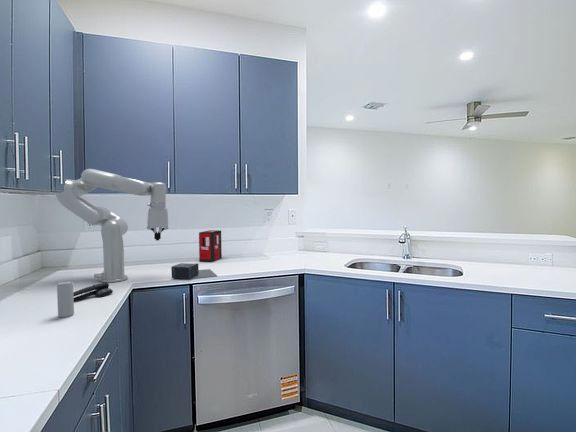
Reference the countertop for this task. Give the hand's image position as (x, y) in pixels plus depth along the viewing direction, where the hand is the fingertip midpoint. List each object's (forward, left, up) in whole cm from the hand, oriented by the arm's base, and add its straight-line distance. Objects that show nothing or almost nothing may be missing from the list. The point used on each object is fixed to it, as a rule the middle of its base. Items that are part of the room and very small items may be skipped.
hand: (157, 240), depth 180 cm
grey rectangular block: (-34, -49, -21) cm, 63 cm away
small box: (+9, -2, -17) cm, 19 cm away
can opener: (-29, -27, -21) cm, 45 cm away
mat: (+20, 0, -20) cm, 29 cm away
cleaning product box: (+37, +43, -21) cm, 60 cm away
